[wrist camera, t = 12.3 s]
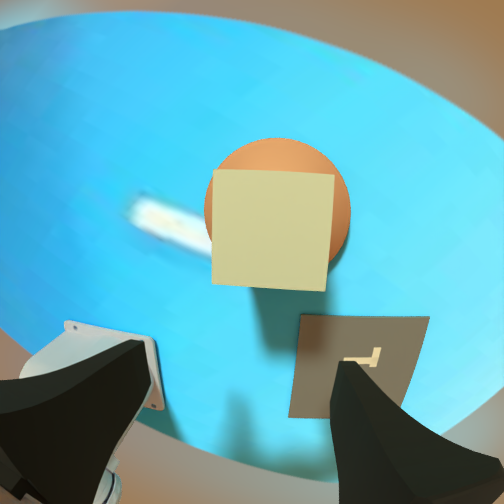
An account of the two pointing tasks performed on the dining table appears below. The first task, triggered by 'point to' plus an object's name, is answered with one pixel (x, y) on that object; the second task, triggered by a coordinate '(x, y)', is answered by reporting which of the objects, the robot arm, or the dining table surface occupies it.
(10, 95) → the dining table surface
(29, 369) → the robot arm
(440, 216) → the dining table surface
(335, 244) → the orange disc
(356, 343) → the brown tile
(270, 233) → the block
